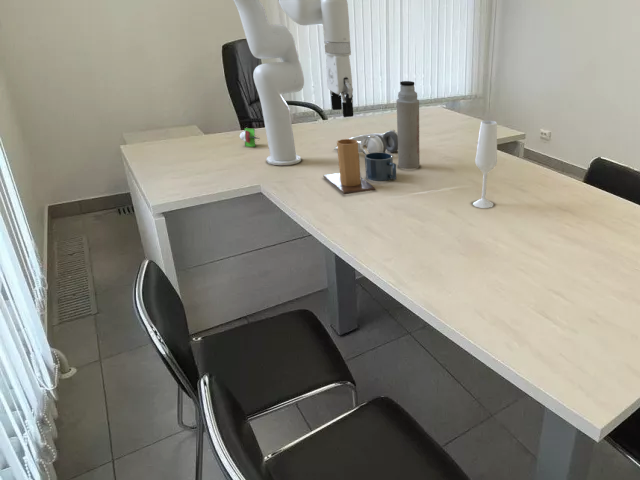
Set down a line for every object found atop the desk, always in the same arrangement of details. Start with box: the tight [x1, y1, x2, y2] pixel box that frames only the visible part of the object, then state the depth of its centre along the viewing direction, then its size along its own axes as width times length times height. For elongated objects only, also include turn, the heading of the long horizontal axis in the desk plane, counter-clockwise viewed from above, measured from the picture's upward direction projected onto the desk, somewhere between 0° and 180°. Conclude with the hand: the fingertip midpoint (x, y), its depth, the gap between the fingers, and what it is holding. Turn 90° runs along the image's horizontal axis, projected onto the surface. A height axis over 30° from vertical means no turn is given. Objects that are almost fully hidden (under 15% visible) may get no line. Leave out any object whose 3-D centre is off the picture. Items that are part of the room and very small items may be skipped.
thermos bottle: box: [396, 80, 421, 170], centre depth 191 cm, size 8×8×28 cm
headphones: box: [333, 129, 398, 156], centre depth 213 cm, size 22×8×22 cm
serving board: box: [322, 172, 376, 195], centre depth 182 cm, size 20×11×1 cm, turn 30°
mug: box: [364, 152, 398, 182], centre depth 185 cm, size 13×10×8 cm
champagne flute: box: [472, 120, 498, 209], centre depth 163 cm, size 7×7×24 cm
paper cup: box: [336, 138, 362, 186], centre depth 176 cm, size 7×7×13 cm
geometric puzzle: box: [239, 127, 261, 148], centre depth 214 cm, size 7×7×8 cm
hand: (342, 113), depth 167 cm, fingers open, 9 cm apart
